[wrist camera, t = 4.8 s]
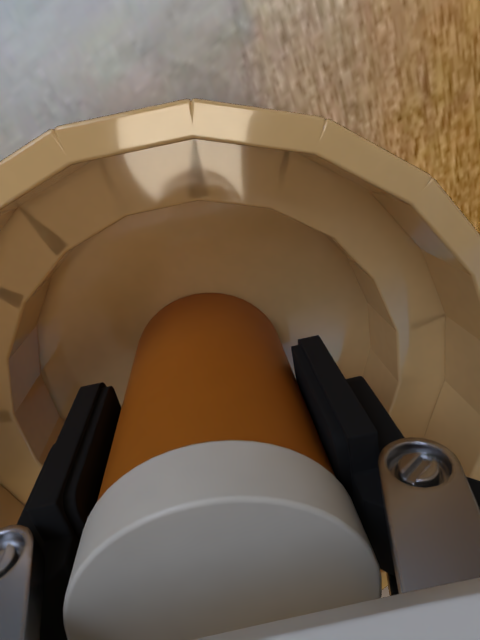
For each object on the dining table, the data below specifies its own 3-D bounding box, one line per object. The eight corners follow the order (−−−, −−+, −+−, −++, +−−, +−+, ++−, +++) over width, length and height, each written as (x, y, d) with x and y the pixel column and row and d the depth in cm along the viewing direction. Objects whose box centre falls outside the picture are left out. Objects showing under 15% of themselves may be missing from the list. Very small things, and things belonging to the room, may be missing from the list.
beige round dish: (412, 63, 11) (556, 19, 7) (419, 464, 17) (500, 584, 13) (-115, 175, 11) (-324, 206, 7) (74, 540, 17) (31, 689, 13)
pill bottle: (271, 273, 13) (374, 464, 5) (293, 403, 15) (390, 670, 7) (113, 307, 13) (4, 546, 5) (156, 433, 15) (120, 732, 7)
